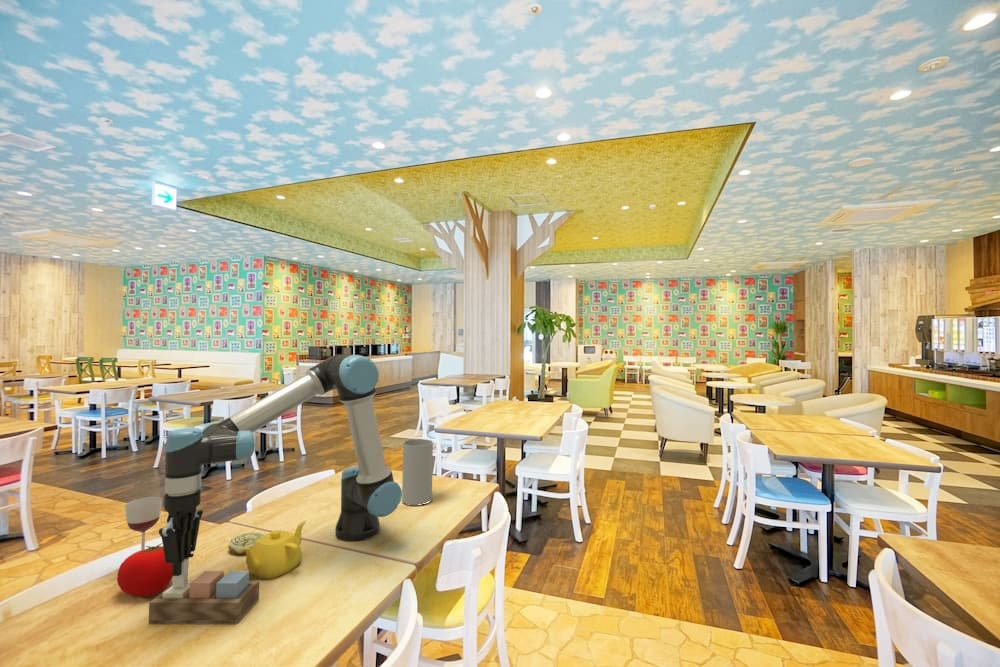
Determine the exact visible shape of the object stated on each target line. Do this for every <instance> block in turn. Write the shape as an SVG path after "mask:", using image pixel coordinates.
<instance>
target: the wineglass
mask: <svg viewBox="0 0 1000 667" xmlns="http://www.w3.org/2000/svg"><path fill="white" fill-rule="evenodd" d="M124 506H125V519H126V523H127V527H128V528H129V529H131V530H132V531H135V532H140V533H141V544H140V545H141V546H140V547H141V549H140V551H141V550H144V549H146V548H145V547H146V545H145V544H146V531H148V530H149V529H151V528H152V527H154V526H155V525H156V524H157V523H158V521H159V520H160V516H161V513H162V508H163V507H162V506H163V497H161V496H147V497H146V496H145V497H141V498H137V499H134V500H131V501H129V502H127V503H126V504H125V505H124Z"/></svg>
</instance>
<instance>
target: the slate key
mask: <svg viewBox="0 0 1000 667" xmlns="http://www.w3.org/2000/svg"><path fill="white" fill-rule="evenodd" d="M249 581H250V572H249V571H247V570H246V571H245V570H244V571H243V570H231V571H229V572H228V573H227V574H224V575H223V578H222V579H221V580H220V581H219V582H217V586H216V599H237V598H238V597H239V596H240V595H241V594H242V593H243V592H244V591H245V590H246V589H247V588H248V587H249Z"/></svg>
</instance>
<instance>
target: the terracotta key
mask: <svg viewBox="0 0 1000 667" xmlns="http://www.w3.org/2000/svg"><path fill="white" fill-rule="evenodd" d="M224 576H225V574H224V570H205V571H203V572H201V574H199V575H197V577H195V578H194V579H193V581H192V582H191V583H190V589H189V599H210V598H211V597H212V596H213V595H214V594H215V593H216V586H217V582H219V581H220V580H221V579H222V578H223V577H224Z"/></svg>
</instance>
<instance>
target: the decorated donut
mask: <svg viewBox="0 0 1000 667" xmlns="http://www.w3.org/2000/svg"><path fill="white" fill-rule="evenodd" d="M264 535H265V534H263V533H260V532H247V533H243V534H239V535H237V536H235V537H232V538H231V539H230V540H229V542H228V549H229V551H230V552H231V554H234V555H243V556H244V555H245V556H246V552H245V551H244V550H241V549H242V548H246V547H249V548H251V549H252V547H253V544H254V542H255V541H256V540H257V539H258V538H260V537H262V536H264Z"/></svg>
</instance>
